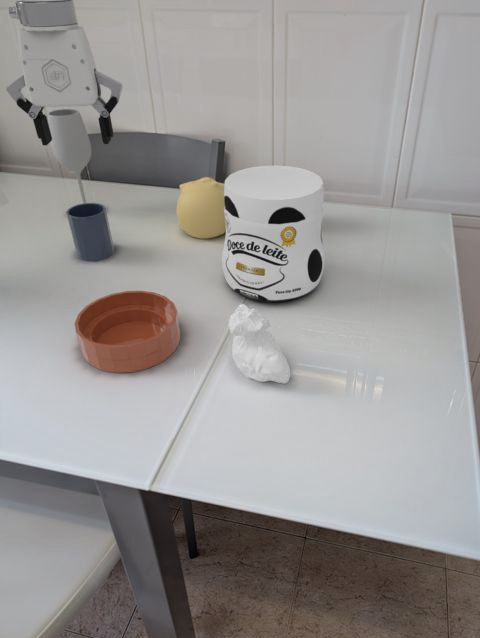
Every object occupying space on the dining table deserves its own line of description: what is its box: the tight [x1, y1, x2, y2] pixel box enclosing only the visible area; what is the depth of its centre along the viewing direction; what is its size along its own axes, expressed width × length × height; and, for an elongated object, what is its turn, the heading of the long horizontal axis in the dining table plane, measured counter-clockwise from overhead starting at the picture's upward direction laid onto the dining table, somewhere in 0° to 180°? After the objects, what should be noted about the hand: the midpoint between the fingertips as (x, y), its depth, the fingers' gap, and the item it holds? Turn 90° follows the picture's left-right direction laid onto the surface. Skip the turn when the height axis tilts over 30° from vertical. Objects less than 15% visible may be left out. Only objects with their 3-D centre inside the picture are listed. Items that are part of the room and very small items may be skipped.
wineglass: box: [47, 108, 92, 204], centre depth 104 cm, size 8×8×21 cm
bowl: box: [74, 290, 181, 374], centre depth 71 cm, size 14×14×5 cm
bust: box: [228, 303, 291, 385], centre depth 65 cm, size 12×8×11 cm
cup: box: [65, 202, 115, 262], centre depth 92 cm, size 7×7×9 cm
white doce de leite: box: [221, 164, 326, 303], centre depth 81 cm, size 17×17×18 cm
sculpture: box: [175, 176, 226, 240], centre depth 100 cm, size 12×12×11 cm
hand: (77, 142), depth 81 cm, fingers open, 9 cm apart
